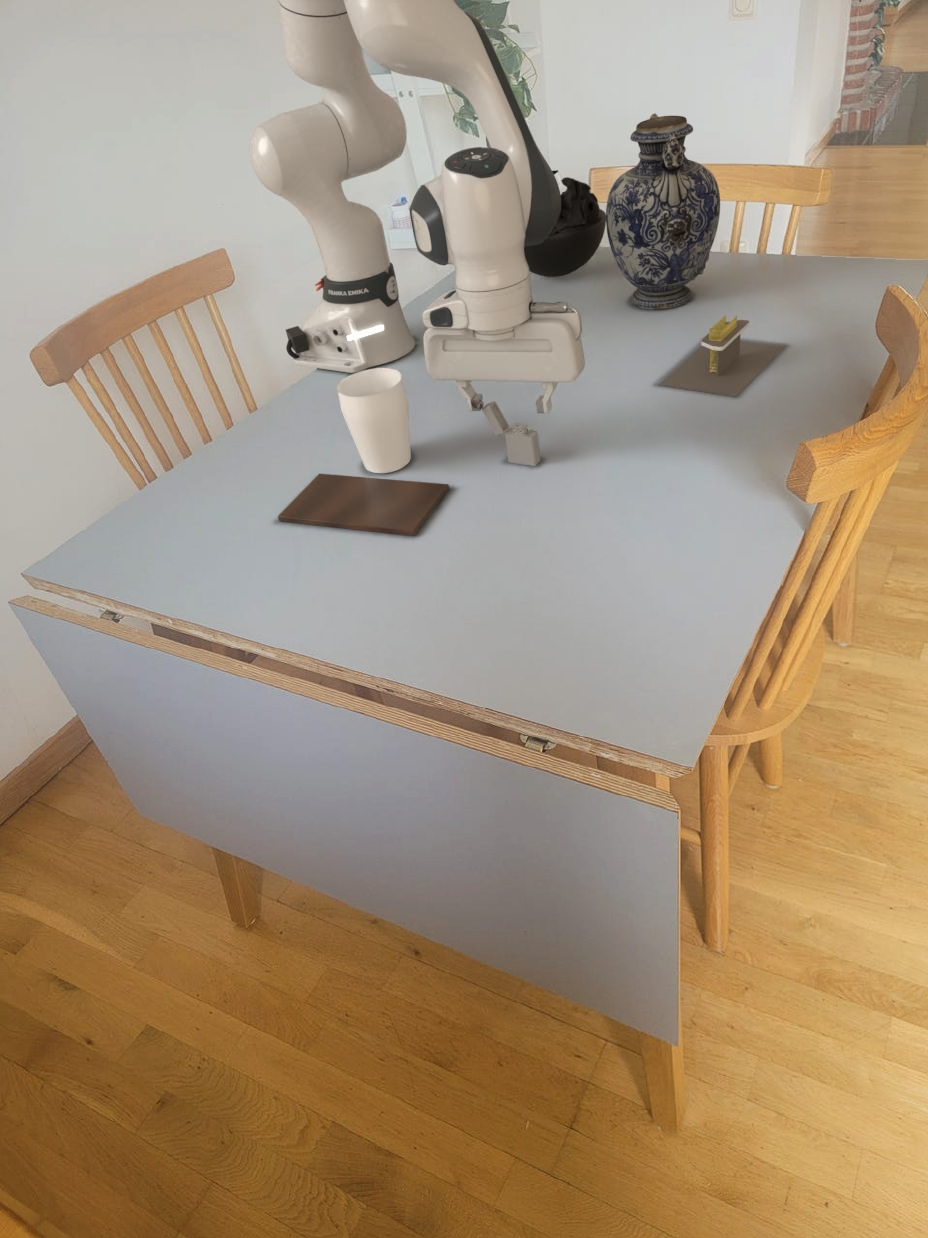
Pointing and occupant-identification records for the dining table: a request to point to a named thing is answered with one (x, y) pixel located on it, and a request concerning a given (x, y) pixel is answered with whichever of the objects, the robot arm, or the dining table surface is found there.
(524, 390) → the dining table surface
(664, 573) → the dining table surface
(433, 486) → the walnut board
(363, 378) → the cup
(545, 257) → the coal bowl
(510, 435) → the lighter
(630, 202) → the decorative vase
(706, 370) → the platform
